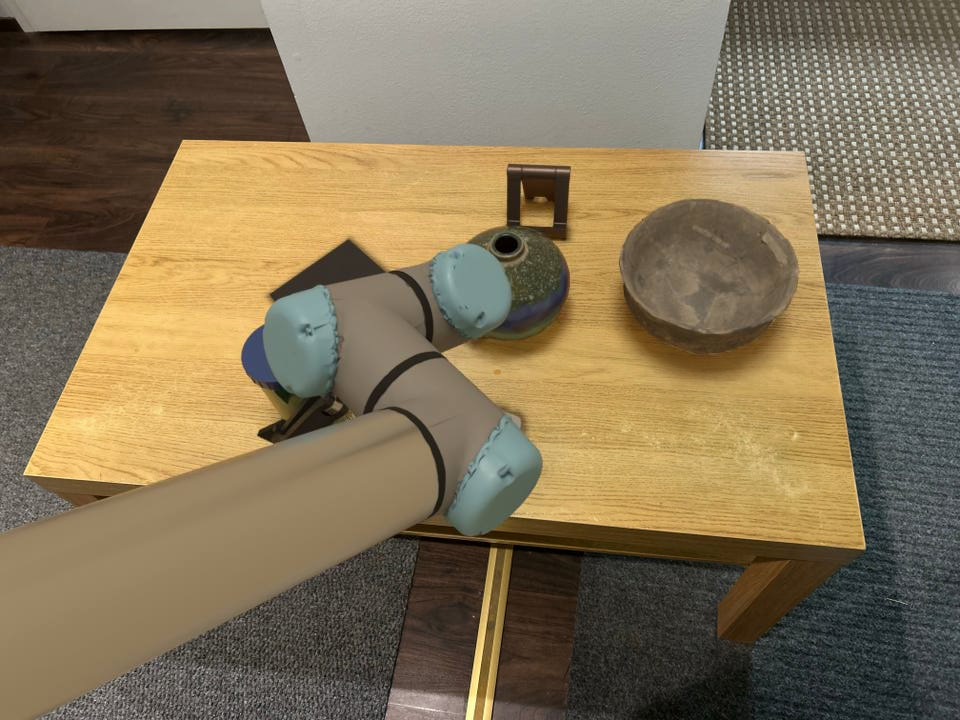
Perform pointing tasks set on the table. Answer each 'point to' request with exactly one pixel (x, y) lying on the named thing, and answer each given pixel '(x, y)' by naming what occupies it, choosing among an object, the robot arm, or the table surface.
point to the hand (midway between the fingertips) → (290, 386)
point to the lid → (258, 361)
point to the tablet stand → (539, 193)
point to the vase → (527, 279)
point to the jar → (288, 403)
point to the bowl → (707, 275)
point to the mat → (331, 270)
